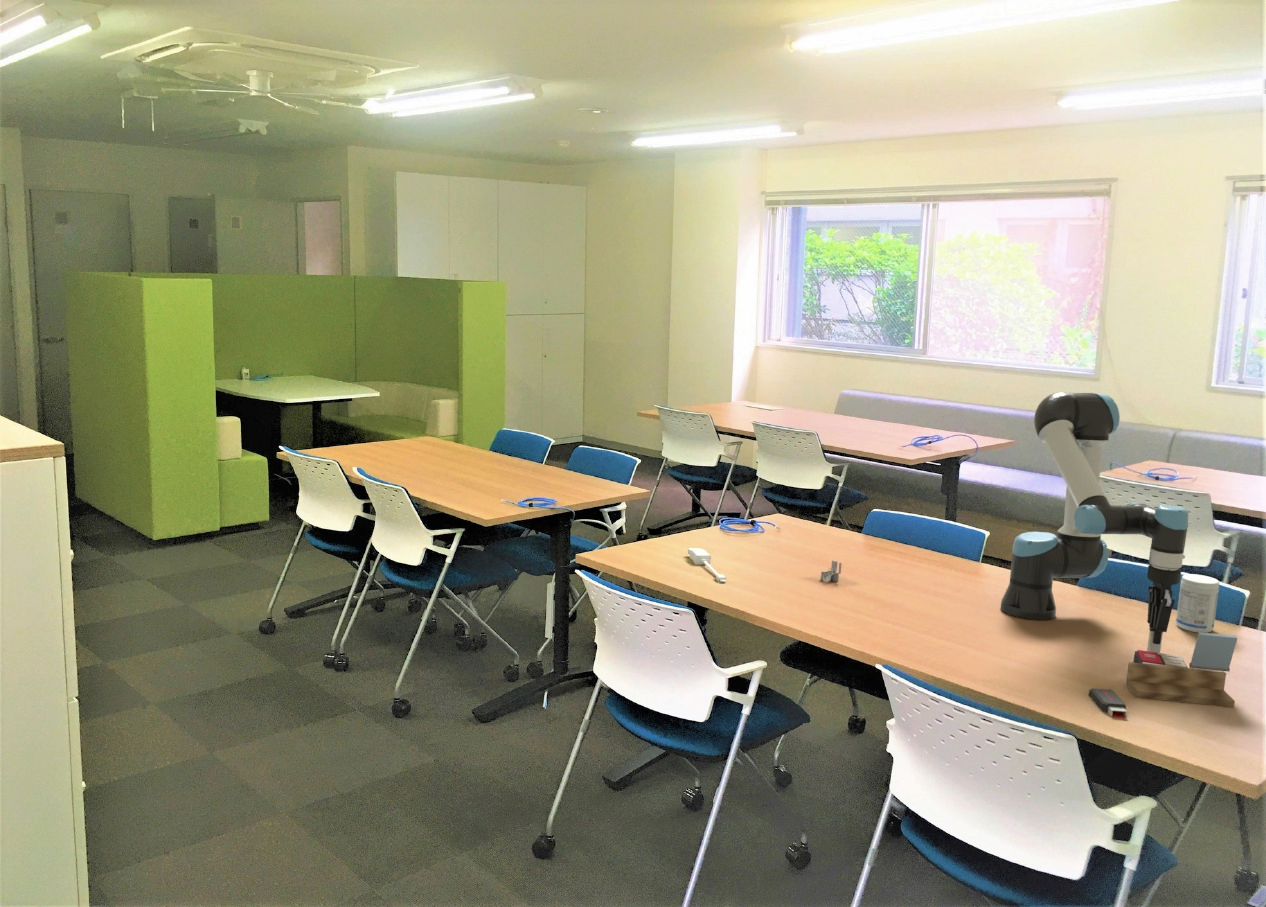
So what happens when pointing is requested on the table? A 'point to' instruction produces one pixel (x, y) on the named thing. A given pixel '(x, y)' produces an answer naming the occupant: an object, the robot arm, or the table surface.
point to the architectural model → (831, 573)
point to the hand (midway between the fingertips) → (1153, 654)
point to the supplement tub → (1197, 603)
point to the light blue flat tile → (1213, 651)
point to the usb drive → (1108, 702)
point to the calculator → (1158, 659)
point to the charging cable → (704, 561)
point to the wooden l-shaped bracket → (1178, 684)
